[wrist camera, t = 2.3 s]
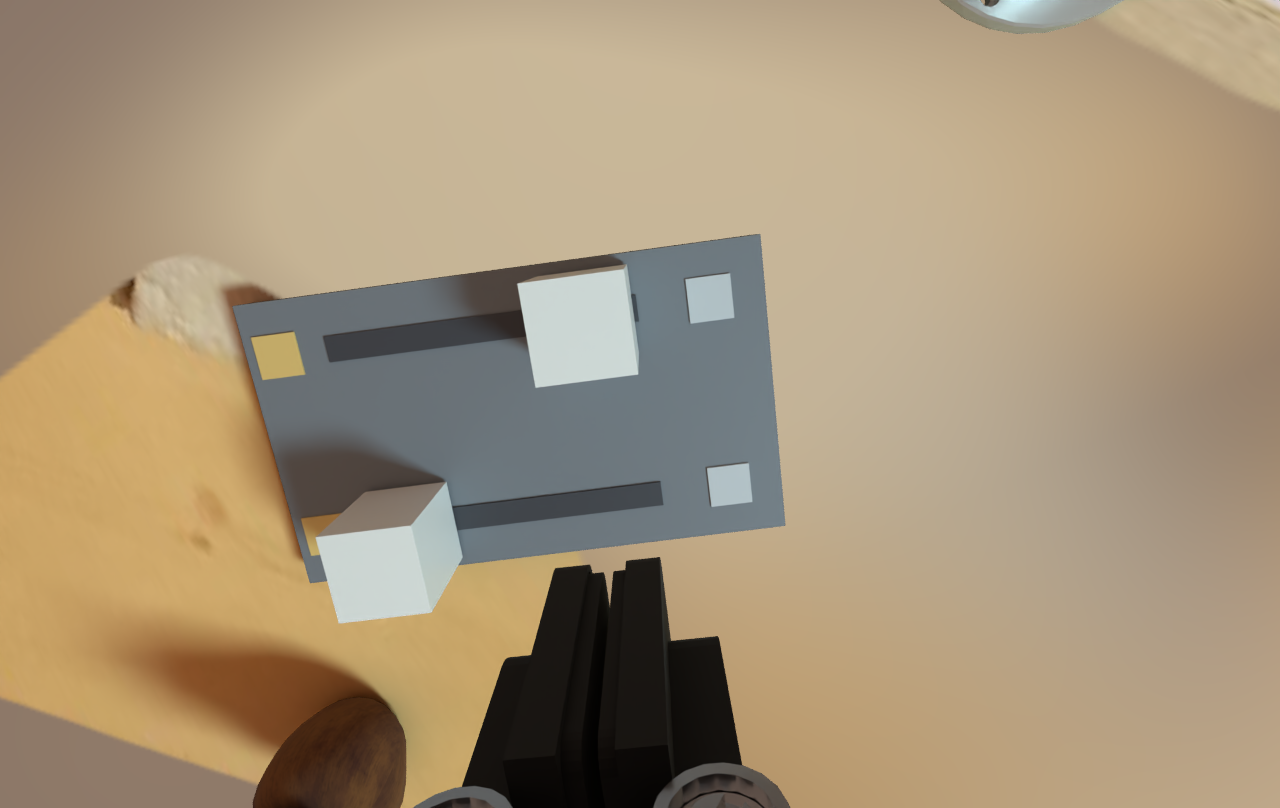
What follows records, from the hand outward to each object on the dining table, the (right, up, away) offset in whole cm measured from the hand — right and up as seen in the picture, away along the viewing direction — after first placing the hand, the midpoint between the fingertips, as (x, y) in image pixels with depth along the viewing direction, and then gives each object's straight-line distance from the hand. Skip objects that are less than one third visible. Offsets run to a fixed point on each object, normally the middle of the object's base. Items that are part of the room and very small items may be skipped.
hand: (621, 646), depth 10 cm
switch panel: (-5, +3, +22) cm, 23 cm away
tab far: (-11, -2, +22) cm, 24 cm away
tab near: (-2, +8, +19) cm, 21 cm away
